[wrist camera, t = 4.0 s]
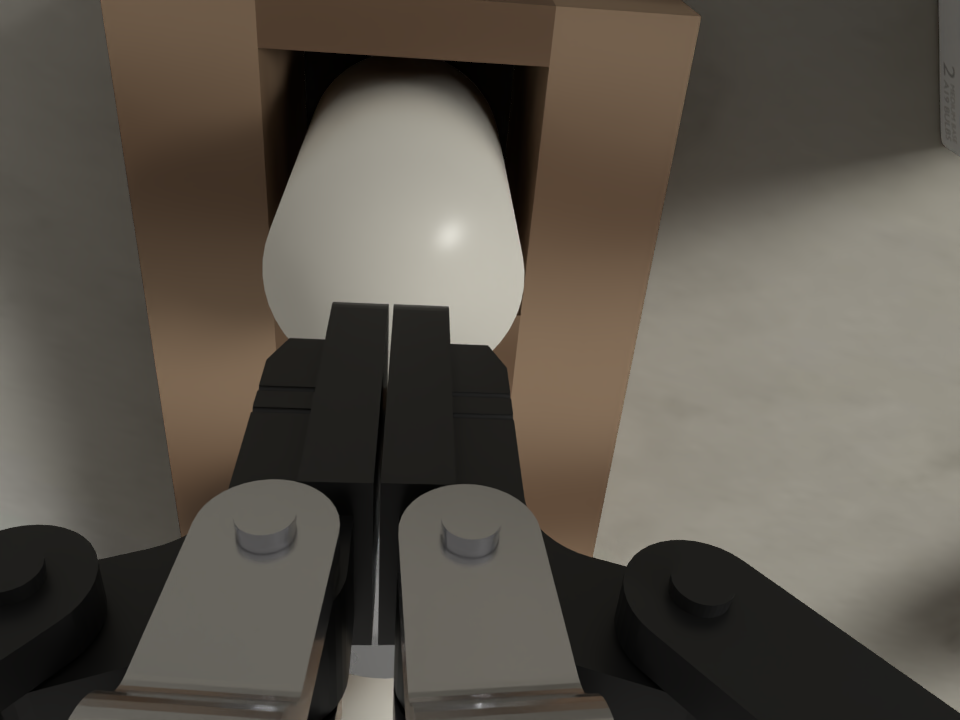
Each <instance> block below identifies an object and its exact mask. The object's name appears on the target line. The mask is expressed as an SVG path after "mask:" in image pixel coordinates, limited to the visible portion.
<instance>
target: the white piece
mask: <svg viewBox="0 0 960 720" xmlns="http://www.w3.org/2000/svg"><path fill="white" fill-rule="evenodd" d="M393 687H394V678H388V679H382V678H369V677H362V676H357V675H352V674H349V678H348V683H347V687H346V690H345V692H344V695H343V711H342V718H341V720H393Z"/></svg>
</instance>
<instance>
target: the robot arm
mask: <svg viewBox="0 0 960 720" xmlns="http://www.w3.org/2000/svg"><path fill="white" fill-rule="evenodd" d="M388 347H389V304H377V303H352V302H333V303H332V306H331V311H330V316H329V321H328V326H327V331H326V337H325V339H305V338H289V339H288V340H287V341H286V342H285V343H284V344H283V345H281V346H280V347H279V348H278V349H277V350H276V351H275V352H274V353H273V354H272V355H271V356H270V357H269V358H267V359H266V363H265V366H264V369H263V373H262V376H261V380H260V383H259V390H257V393H256V396H255V400H254V403H253V410H252V412H251V413H250V417H249V420H248V424H247V427H246V430H245V434H244V437H243V441H242V444H241V447H240V451H239V454H238V458H237V461H236V464H235V468H234V471H233V475H232V478H231V481H230V485H229V488H228V490H226V491H224V492H222V493H220V494H219V495H217V496H215V497H214V498H212V499H211V500H210V501H209V502H208V503H206V504H205V505H204V506H203V507H202V509H201V510H200V511H199V512H198V513H197V515H196V517H195V519H194V520H193V522H192V524H191V527H190V529H189V531H188V534H187V535H186V536H184V537H182V538H180V539H177V540H175V541H172V542H170V543H167V544H165V545H161V546H158V547H154V548H150V549H146V550H142V551H137V552H132V553H128V554H123V555H119V556H114V557H109V558H105V559H100V560H98V559H97V555H96V552H95V550H94V548H93V547H92V545H91V543H89V542H88V541H87V540H86V539H85V538H84V537H83V536H81V535H79V534H78V533H76V532H74V531H71V530H69V529H66V528H62V527H57V526H52V525H26V526H19V527H13V528H8V529H5V530H1V531H0V720H341V718H342V711H343V695H344V692H345V690H346V687H347V683H348V678H349V668H350V657H351V647H352V645H372V634H373V620H374V606H375V591H376V577H377V563H378V548H379V607H378V645H395V651H394V687H393V720H960V713H959V712H957V711H956V710H954V709H953V708H952V707H950V706H949V705H947V704H946V703H945V702H943V701H942V700H940V699H939V698H937V697H936V696H935V695H933V694H932V693H930V692H929V691H927V690H926V689H925V688H923V687H922V686H920V685H919V684H918V683H916V682H915V681H913V680H912V679H910V678H909V677H908V676H906V675H905V674H903V673H902V672H900V671H899V670H898V669H896V668H895V667H893V666H892V665H891V664H889V663H888V662H886V661H885V660H883V659H882V658H881V657H879V656H878V655H876V654H875V653H873V652H872V651H871V650H869V649H868V648H866V647H865V646H864V645H862V644H861V643H859V642H858V641H856V640H855V639H854V638H852V637H851V636H849V635H848V634H846V633H845V632H844V631H842V630H841V629H839V628H838V627H837V626H835V625H834V624H832V623H831V622H829V621H828V620H827V619H825V618H824V617H822V616H821V615H819V614H818V613H817V612H815V611H814V610H812V609H811V608H810V607H808V606H807V605H805V604H804V603H802V602H801V601H800V600H798V599H797V598H795V597H794V596H792V595H791V594H790V593H788V592H787V591H785V590H784V589H783V588H781V587H780V586H778V585H777V584H775V583H774V582H773V581H771V580H770V579H768V578H767V577H765V576H764V575H763V574H761V573H760V572H758V571H757V570H756V569H754V568H753V567H751V566H750V565H748V564H747V563H746V562H744V561H743V560H741V559H739V558H738V557H736V556H735V555H733V554H731V553H729V552H727V551H725V550H723V549H721V548H718V547H715V546H712V545H709V544H705V543H701V542H696V541H688V540H670V541H664V542H659V543H656V544H653V545H650V546H648V547H646V548H644V549H642V550H641V551H639V552H638V553H637V554H636V555H635V556H634V557H633V558H632V559H631V561H630V562H629V563H628V565H627V567H626V566H622V565H618V564H615V563H611V562H607V561H604V560H600V559H596V558H593V557H589V556H586V555H583V554H580V553H577V552H575V551H573V550H571V549H568V548H566V547H564V546H563V545H561V544H559V543H558V542H556V541H554V540H553V539H552V538H551V537H549V536H548V535H547V534H545V533H544V532H543V531H542V530H541V529H540V526H539V524H538V521H537V519H536V518H535V516H534V515H533V513H532V512H531V511H530V510H529V509H528V508H527V506H526V502H525V498H524V490H523V483H522V475H521V468H520V461H519V453H518V446H517V438H516V431H515V423H514V420H513V409H512V401H511V398H510V386H509V379H508V372H507V367H506V366H505V365H504V364H503V363H502V361H501V360H500V359H499V358H498V357H497V355H496V354H495V353H494V352H493V351H492V349H491V348H490V347H489V346H488V345H469V344H450V318H449V306H430V305H406V304H394V306H393V320H392V333H391V347H390V360H389V374H388ZM379 534H380V544H379Z"/></svg>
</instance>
